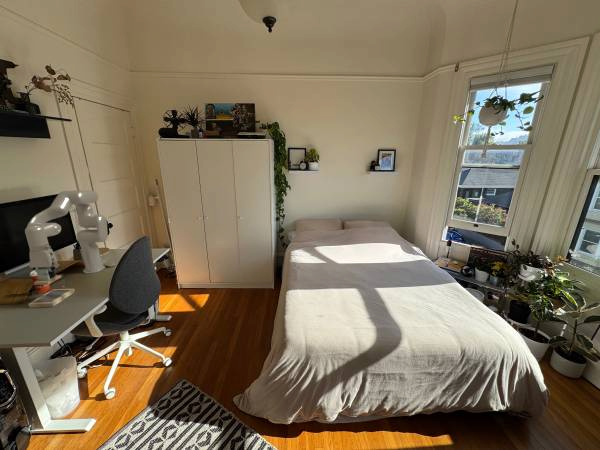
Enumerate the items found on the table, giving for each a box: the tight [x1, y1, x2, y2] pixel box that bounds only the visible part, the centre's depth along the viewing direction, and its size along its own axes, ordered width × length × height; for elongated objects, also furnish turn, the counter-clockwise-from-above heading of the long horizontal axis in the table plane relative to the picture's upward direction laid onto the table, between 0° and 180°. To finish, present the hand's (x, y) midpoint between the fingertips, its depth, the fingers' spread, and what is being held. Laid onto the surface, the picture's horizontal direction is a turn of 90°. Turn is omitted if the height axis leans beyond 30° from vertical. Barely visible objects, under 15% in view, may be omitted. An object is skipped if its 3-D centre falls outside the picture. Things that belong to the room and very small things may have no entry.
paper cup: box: [29, 269, 51, 295], centre depth 150 cm, size 8×8×14 cm
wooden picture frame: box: [28, 288, 76, 309], centre depth 143 cm, size 16×12×2 cm
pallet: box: [33, 267, 62, 286], centre depth 139 cm, size 9×7×8 cm
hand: (47, 276), depth 140 cm, fingers closed on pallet, 5 cm apart
